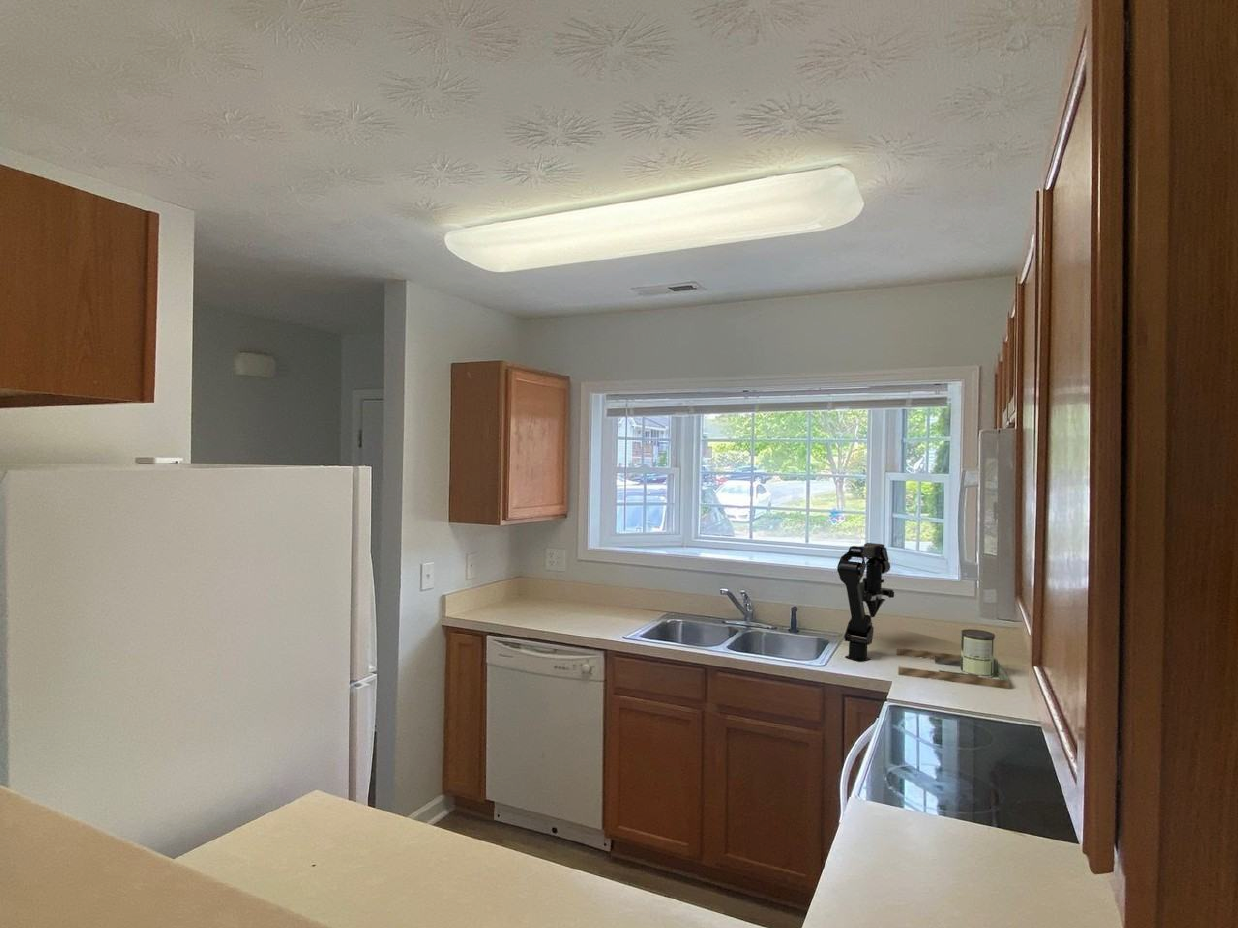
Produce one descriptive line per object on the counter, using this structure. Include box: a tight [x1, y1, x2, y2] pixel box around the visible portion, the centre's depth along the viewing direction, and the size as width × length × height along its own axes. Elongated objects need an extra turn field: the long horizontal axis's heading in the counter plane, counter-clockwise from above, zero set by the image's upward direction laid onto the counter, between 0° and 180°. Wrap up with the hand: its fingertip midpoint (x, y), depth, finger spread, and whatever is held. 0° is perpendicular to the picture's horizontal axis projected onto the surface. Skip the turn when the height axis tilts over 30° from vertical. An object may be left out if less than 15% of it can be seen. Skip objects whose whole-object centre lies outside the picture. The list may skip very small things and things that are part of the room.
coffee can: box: [960, 628, 996, 678], centre depth 236 cm, size 10×10×14 cm
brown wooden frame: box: [896, 647, 1010, 690], centre depth 239 cm, size 33×27×3 cm
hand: (872, 616), depth 261 cm, fingers closed
